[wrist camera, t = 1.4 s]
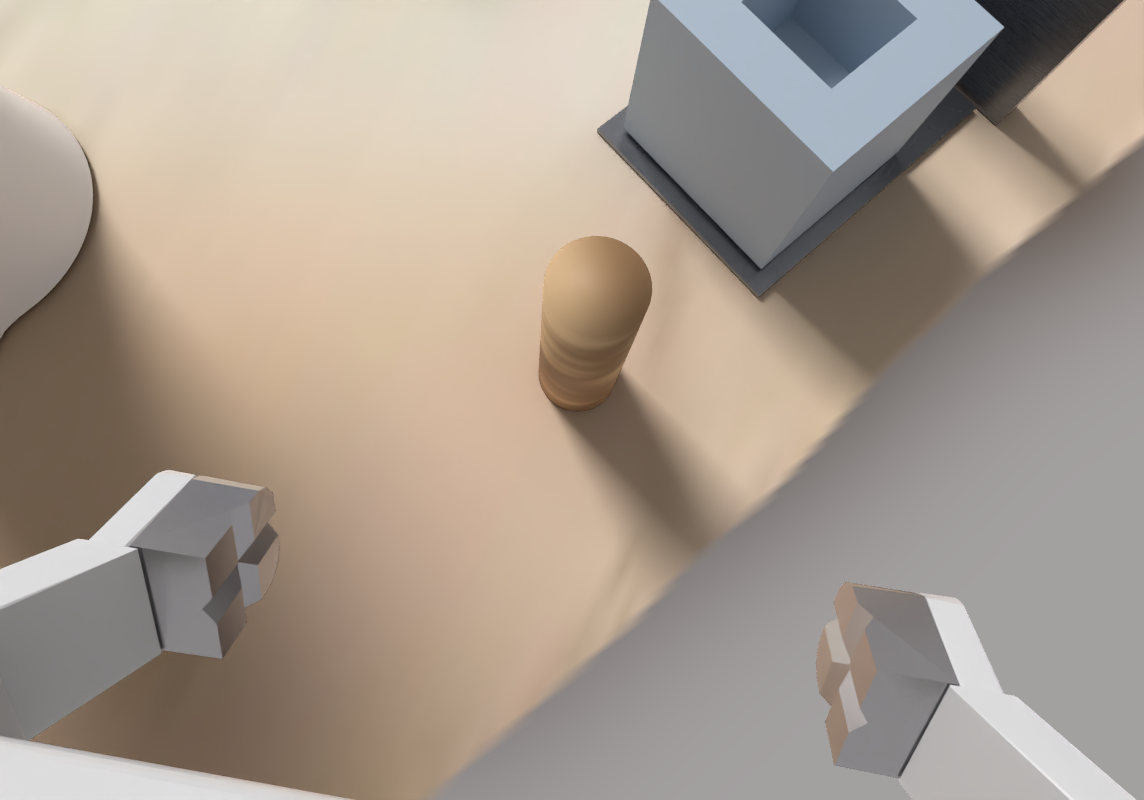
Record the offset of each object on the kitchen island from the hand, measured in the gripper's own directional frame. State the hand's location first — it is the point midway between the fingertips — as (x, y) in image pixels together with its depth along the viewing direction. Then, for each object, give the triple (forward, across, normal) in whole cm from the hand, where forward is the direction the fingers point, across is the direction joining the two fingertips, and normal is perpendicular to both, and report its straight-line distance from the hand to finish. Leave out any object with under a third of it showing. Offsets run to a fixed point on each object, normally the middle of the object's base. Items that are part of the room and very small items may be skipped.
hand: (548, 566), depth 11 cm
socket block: (+37, -7, 0) cm, 38 cm away
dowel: (+27, +1, +11) cm, 29 cm away
